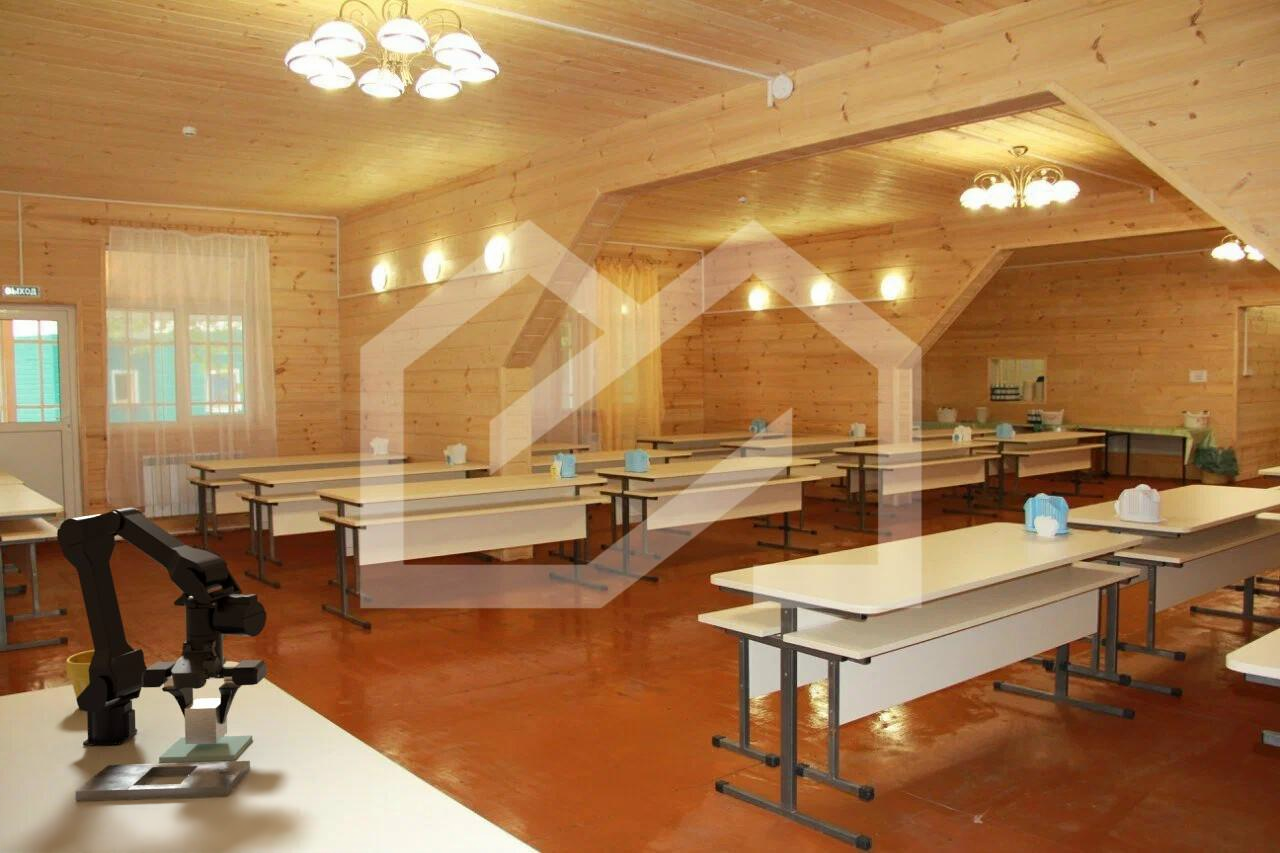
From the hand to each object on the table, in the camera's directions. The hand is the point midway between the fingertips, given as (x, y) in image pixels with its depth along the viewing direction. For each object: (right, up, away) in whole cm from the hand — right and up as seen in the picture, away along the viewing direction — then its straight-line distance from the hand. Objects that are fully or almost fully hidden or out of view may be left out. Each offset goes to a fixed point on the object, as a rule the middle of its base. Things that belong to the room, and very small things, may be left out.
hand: (206, 723), depth 163 cm
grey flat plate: (0, -5, -14) cm, 15 cm away
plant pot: (-32, -4, +24) cm, 40 cm away
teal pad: (0, -5, 0) cm, 5 cm away
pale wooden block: (0, -3, 0) cm, 2 cm away
